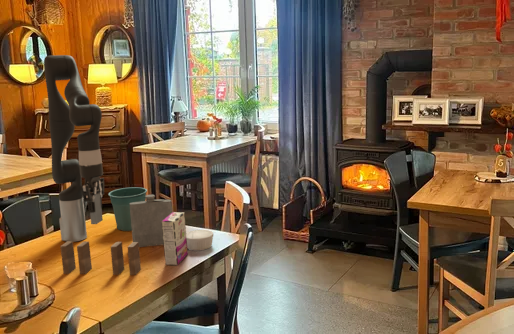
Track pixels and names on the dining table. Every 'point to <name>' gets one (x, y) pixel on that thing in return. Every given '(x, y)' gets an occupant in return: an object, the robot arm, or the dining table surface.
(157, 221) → the hip flask
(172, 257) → the candy bar box
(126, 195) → the flower pot
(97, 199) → the domino
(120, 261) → the domino
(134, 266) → the domino
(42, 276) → the dining table surface
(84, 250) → the domino
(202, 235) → the ramekin
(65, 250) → the domino
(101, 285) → the dining table surface
